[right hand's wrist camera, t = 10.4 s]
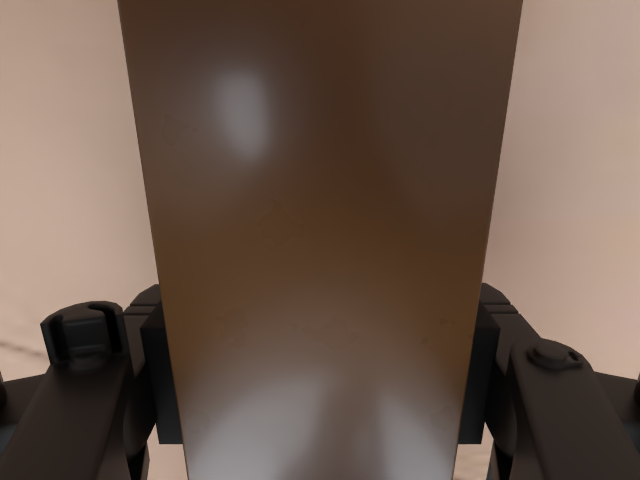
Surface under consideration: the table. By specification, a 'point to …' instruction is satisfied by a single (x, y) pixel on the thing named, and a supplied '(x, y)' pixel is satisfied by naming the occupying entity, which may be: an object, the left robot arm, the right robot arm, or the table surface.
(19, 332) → the table surface
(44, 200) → the table surface
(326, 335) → the post
